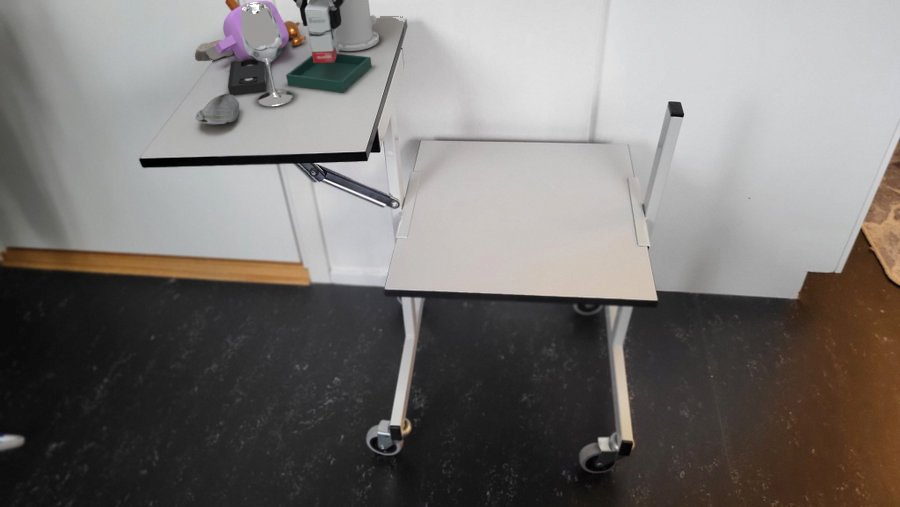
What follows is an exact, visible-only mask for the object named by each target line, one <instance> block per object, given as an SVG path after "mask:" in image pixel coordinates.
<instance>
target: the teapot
mask: <svg viewBox="0 0 900 507" xmlns="http://www.w3.org/2000/svg"><path fill="white" fill-rule="evenodd" d="M255 2H263V3H267V4H268V5H269V6H270V9H271V11H272V13H273V15H274V18H275V20H276V23H277V25H278V28H279V31H280V34H281V38H282V48H284V47H285V46H286V45H287V44H288V42H289V39H290V38H289V34H288V31H287V28H286V26H285V24H284V23H285V21H284V20H283V18H282V16H281V14H280V13H279V11H278V8H276V6H275V5H274V3H273V2H271V1H268V0H256V1H250V2H247V3H243V4H242V5H239V7H237V8H236V9H234V10H233V11H231V10H230V12H229V13H228V14H227V15H226V16H225V18H224V20H223V23H222V24H223V25H222V31H223V35H224V38H223V39H220V40H221V41H219V42H218V43H217V44H216V46H215V48H216V50H217V52H218V54H222V53H224V52H226V51H229V50H231V49H232V50H233V55H235V56H236V57H235V58H237V59H238V61H243V60H251V59H253V58H252V57H251V56H250V55H249V54H248V53H247V51H246V50H245V47H244V44H243V39H242V28H241V7H242V6H244V5H246V4H250V3H255Z"/></svg>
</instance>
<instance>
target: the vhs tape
mask: <svg viewBox="0 0 900 507" xmlns="http://www.w3.org/2000/svg"><path fill="white" fill-rule="evenodd" d="M267 72H268V71H267V68H266V65H265V63H263V62H259V61H257V60H255V59H251V60H234V61H233V60H232V61H230V66H229V74H228V83H227V89H228V92H229V93H228V94H231V95H233V96H234V95H241V94H249V93H255V92H256V93H257V92H264V91H267Z"/></svg>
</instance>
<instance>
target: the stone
mask: <svg viewBox="0 0 900 507" xmlns="http://www.w3.org/2000/svg"><path fill="white" fill-rule="evenodd" d="M221 40H222V39H217V40H213V41H211V42H204V43H201V44H199V46H198V47H196V49H195V52H194V58H195V61H197V62H211V61H217V60H219V59H221V58H224V57H231V56H233V55H234V52H233V50H232V49H231V50H229V51H226V52H224V53H222V54H218V52H217V50H216V48H215V46H216V44H217V43H218V42H219V41H221Z"/></svg>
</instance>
